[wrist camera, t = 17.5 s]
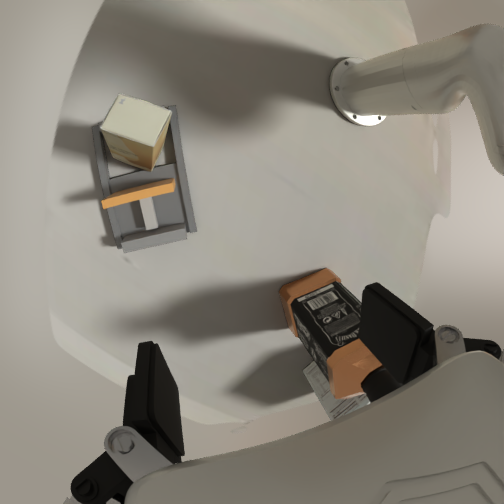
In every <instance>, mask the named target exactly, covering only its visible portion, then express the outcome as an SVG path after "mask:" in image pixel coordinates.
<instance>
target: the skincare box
mask: <svg viewBox="0 0 504 504" xmlns="http://www.w3.org/2000/svg"><path fill="white" fill-rule="evenodd" d="M171 115H172V111H171V110H168V109H166V108H163V107H160V106H157V105H155V104H152V103H149V102H147V101H144V100H140V99H137V98H134V97H131V96H128V95H125V94H122V93H119V94H118V96H117V97H116V99H115V101H114V102H113V104H112V106H111V107H110V109H109V111H108V113H107V114H106V116H105V118H104V120H103V122H102V124H101V127H100V129H101V131H102V133H103V135H104V138H105V140H106V143H107V145H108V147H109V149H110V152H111V154H112V156H113V158H114V159H117V160H119V161H121V162H124V163H127V164H129V165H132V166H135V167H138V168H141V169H144V170H147V171H150V172H152V170H153V168H154V166H155V164H156V162H157V159H158V157H159V155H160V153H161V151H162V149H163V146H164V142H165V137H166V133H167V129H168V126H169V122H170V118H171Z"/></svg>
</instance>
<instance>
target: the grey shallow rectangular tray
mask: <svg viewBox="0 0 504 504" xmlns="http://www.w3.org/2000/svg"><path fill="white" fill-rule="evenodd" d="M160 107H163V108H165V107H164V106H160ZM168 108H169V110H171V111H172V115H171V118H170V122H171V129H172V136H173V142H174V149H175V155H176V161H177V163H173V164H168V165H164V166H159V167H155V168H153V170H152V172H150V171H147V170H143V171H139V172H135V173H131V174H127V175H123V176H120V177H116V178H112V179H110V176H109V171H108V166H107V160H106V154H105V148H104V142H103V135H102V131H101V129H100V127H101V124H102V122H100V123H98V124H99V125H97V126H94V127H92V132H93V139H94V146H95V152H96V158H97V164H98V170H99V175H100V180H101V185H102V189H103V194H104V198H107V197H108V196H110V195H112V194H113V193H115V192H118V191H122V190H125V189H129V188H133V187H137V186H141V185H145V184H149V183H153V182H158V181H162V180H167V179H171V178H174V179H175V184H176V185H175V189H174V192H170V193H165V194H161V195H157V196H152V199H153V204H154V209H155V213H156V217H157V222H158V228H154V229H150V230H146V226H145V222H144V218H143V214H142V209H141V205H140V200H136V201H132V202H128V203H124V204H120V205H117V206H113V207H109V208H107V211H108V215H109V219H110V223H111V227H112V230H113V234H114V238H115V241H116V245H117V248H118V249H122V248H123V252H124V253H127V252H132V251H136V250H140V249H145V248H149V247H153V246H158V245H162V244H167V243H171V242H176V241H180V240H185V239H187V232H190V233H192V232H197V228H196V223H195V218H194V213H193V208H192V203H191V197H190V192H189V186H188V181H187V175H186V169H185V163H184V157H183V151H182V145H181V138H180V132H179V125H178V118H177V111H176V105H174V106H169V107H168Z"/></svg>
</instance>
